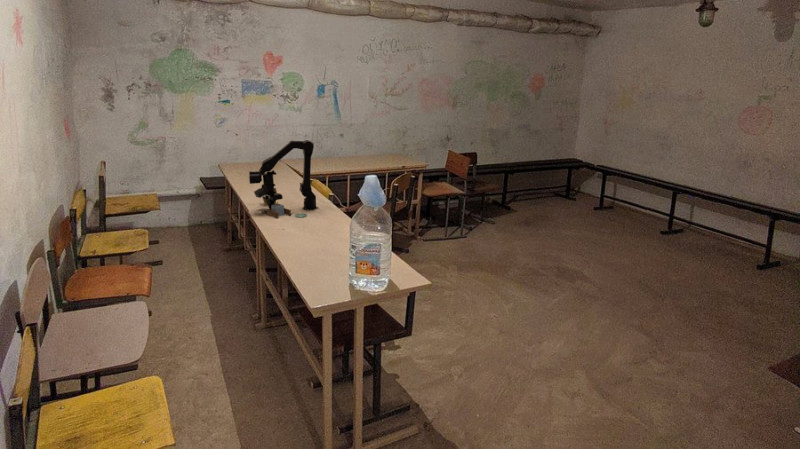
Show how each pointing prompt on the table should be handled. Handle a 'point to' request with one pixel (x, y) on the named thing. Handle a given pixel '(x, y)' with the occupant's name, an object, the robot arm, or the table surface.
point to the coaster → (300, 215)
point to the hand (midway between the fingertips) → (270, 209)
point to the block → (278, 209)
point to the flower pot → (265, 200)
